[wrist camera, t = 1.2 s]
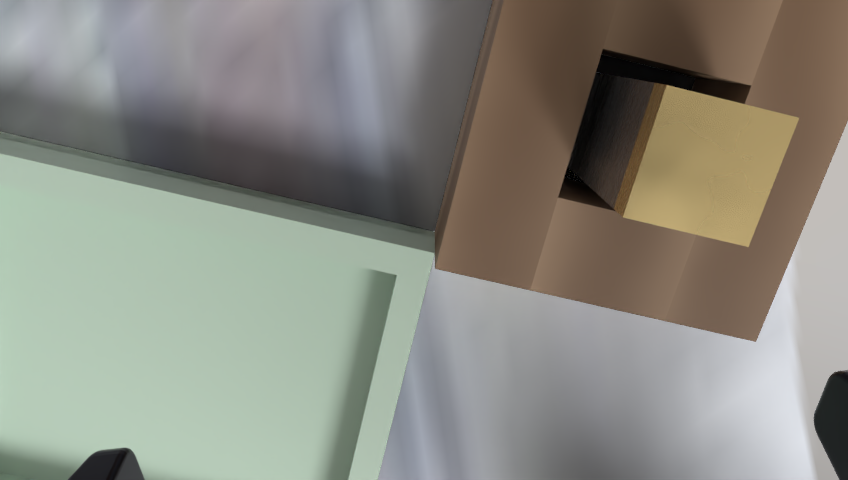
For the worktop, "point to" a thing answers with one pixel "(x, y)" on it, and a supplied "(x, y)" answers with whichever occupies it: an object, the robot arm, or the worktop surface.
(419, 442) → the worktop surface
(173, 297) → the tray
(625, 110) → the pin
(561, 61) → the brown block with hole
